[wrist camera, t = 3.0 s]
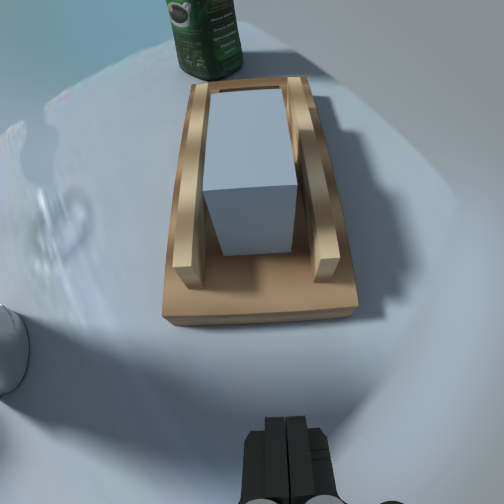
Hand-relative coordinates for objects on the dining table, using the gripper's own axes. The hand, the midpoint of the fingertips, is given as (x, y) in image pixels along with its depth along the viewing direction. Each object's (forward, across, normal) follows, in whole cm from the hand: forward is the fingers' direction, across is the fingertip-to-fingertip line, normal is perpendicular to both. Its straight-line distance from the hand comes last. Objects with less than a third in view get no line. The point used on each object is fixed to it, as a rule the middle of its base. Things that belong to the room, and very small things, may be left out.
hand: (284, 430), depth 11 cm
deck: (+23, -1, +7) cm, 24 cm away
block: (+17, -1, +6) cm, 18 cm away
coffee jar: (+39, -7, +24) cm, 47 cm away
